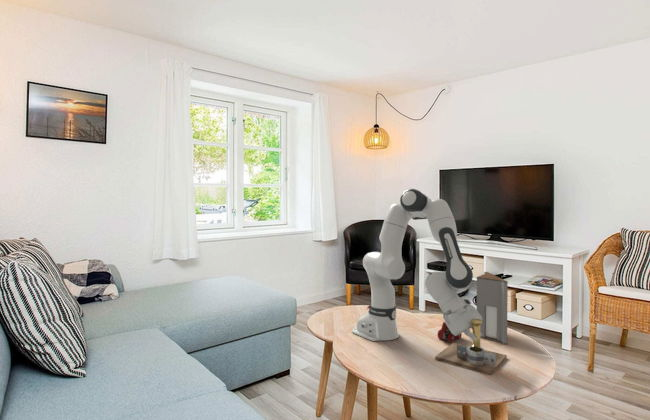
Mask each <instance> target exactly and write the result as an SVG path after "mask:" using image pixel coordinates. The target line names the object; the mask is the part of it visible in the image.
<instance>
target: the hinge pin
mask: <svg viewBox="0 0 650 420" xmlns="http://www.w3.org/2000/svg"><path fill="white" fill-rule="evenodd" d="M471 323H472V324H473V330H472V333H473V334H475V335H476V336H477V339H476V340H474V341H472V346H473V351H475V352H480V347H481V337H480V324H482V320H480V319H471Z"/></svg>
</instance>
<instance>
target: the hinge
mask: <svg viewBox="0 0 650 420" xmlns="http://www.w3.org/2000/svg"><path fill="white" fill-rule="evenodd" d="M468 346H469V347H466V346H462V345H457V357H458V358H462V359H465V360H467V362H468V363H469V364H473V365H483V364H484V365H488V366H492V367H495V361H496V354H495V353H490V352H486V351H485V350H486V349H484V347H481V346H480V352H475V351H473V345H468Z"/></svg>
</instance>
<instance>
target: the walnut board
mask: <svg viewBox="0 0 650 420" xmlns="http://www.w3.org/2000/svg"><path fill="white" fill-rule="evenodd" d="M457 345H462V346H466V347H469V346H470V345H466V344H462V343H457V342H451V344H450V345H448V346H447V347H446V348H444V349H443V350H441V351H440V352H439V353H437V354H436V355H435V356H434V360H435V361H440V362H443V363H447V364H452V365H454V366H457V367H461V368H463V369H464V368H465V369H468V370H471V371H476V372H479V373H483V374H486V375H489V376H492V375H493V374H494V373H495V371H496V370H498V369H499V368H500V366H501V365H502V364H503V363H504V362H505V360H507V359H508V355H506V354H503V353H499V352H494V351H491V350H487V349H484V350H485V351H486V352H490V353H495V354H496V361H495V367H492V366H488V365H484V364H483V365H473V364H469V363H468V362H467V360H465V359H462V358H458V357H457Z"/></svg>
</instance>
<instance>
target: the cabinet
mask: <svg viewBox="0 0 650 420" xmlns="http://www.w3.org/2000/svg"><path fill="white" fill-rule="evenodd" d="M508 284H509V283H508V281H507V280H505V279H503V278H501V277H499V276H497V275H495V274H493V273H491V272H489V271H484V273H483V274H481V275H479V276H476V310H477V311H478V312H479V314H480V315H481V316H482V319H483V320H482V324H480V332H481V334H482V336H481V337H480V339H485V340H489V341H494V342H499V343H500V344H502V345H508V293H509V292H508V291H509V290H508Z"/></svg>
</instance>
